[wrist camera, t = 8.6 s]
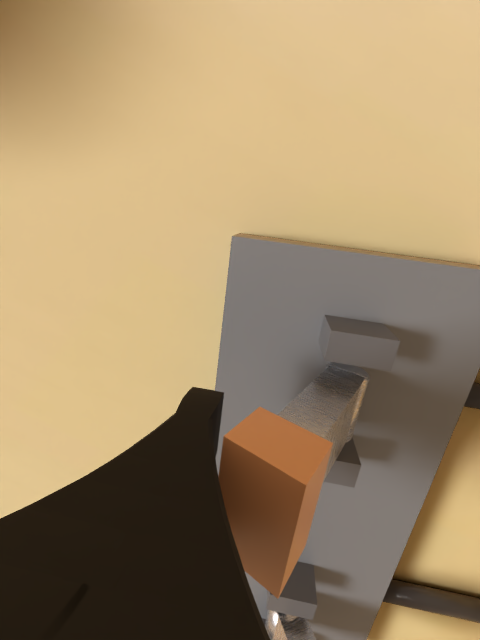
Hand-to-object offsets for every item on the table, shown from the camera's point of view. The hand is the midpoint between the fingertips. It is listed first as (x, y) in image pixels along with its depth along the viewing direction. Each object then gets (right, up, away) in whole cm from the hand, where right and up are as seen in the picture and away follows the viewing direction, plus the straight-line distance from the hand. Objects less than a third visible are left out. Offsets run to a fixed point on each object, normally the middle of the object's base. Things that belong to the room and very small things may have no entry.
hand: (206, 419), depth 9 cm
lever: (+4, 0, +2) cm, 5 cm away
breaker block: (+7, -5, +6) cm, 11 cm away
